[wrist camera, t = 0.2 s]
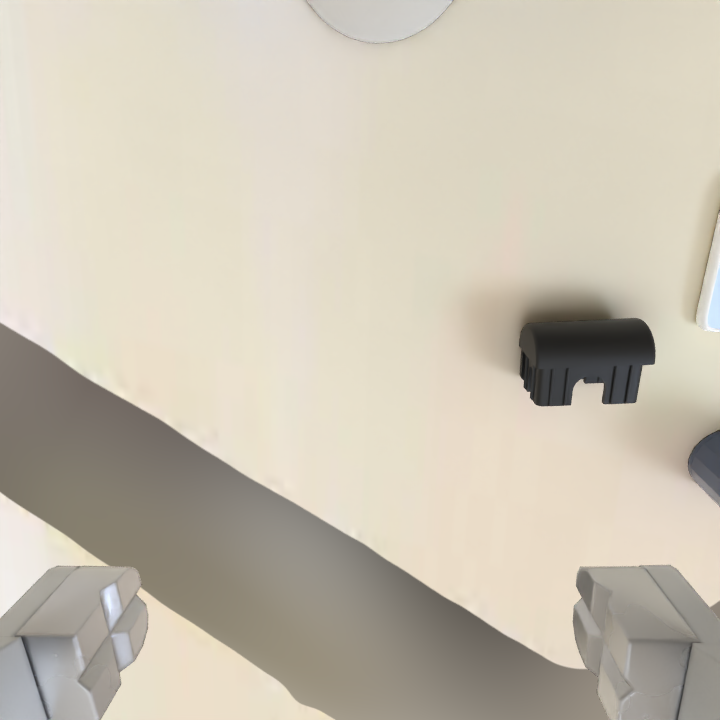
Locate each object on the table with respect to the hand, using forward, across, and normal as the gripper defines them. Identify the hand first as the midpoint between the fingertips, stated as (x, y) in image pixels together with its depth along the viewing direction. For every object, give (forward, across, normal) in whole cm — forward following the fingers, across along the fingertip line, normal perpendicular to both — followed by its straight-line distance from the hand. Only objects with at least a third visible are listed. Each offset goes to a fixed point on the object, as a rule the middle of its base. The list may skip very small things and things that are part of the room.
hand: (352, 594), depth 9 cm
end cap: (+40, -18, +6) cm, 44 cm away
